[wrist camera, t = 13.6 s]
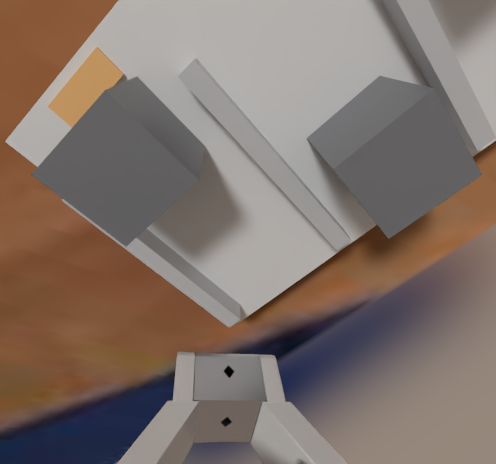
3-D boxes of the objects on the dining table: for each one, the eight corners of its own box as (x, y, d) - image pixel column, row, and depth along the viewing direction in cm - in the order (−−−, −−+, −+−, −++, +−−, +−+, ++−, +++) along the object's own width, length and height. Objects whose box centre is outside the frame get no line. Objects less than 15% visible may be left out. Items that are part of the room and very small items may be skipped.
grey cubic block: (352, 195, 16) (388, 239, 12) (306, 138, 14) (333, 169, 11) (421, 143, 15) (481, 175, 11) (379, 75, 13) (434, 88, 10)
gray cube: (148, 199, 15) (126, 246, 12) (79, 140, 14) (31, 174, 10) (204, 146, 14) (199, 180, 11) (137, 76, 13) (105, 89, 9)
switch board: (237, 305, 21) (239, 339, 18) (23, 132, 15) (-13, 149, 13) (620, 25, 14) (697, 22, 12) (500, -449, 9) (599, -625, 6)
